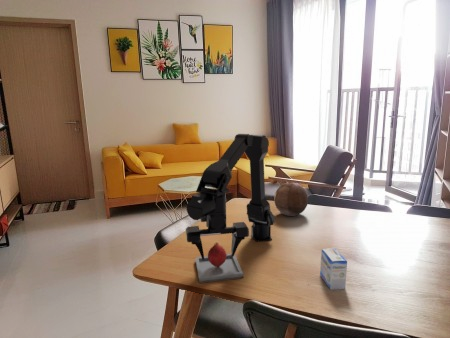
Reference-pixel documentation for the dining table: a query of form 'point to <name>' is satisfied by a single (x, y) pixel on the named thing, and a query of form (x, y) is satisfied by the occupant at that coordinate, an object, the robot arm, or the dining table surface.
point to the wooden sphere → (291, 199)
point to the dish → (218, 269)
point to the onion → (217, 255)
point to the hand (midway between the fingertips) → (217, 257)
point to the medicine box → (333, 268)
